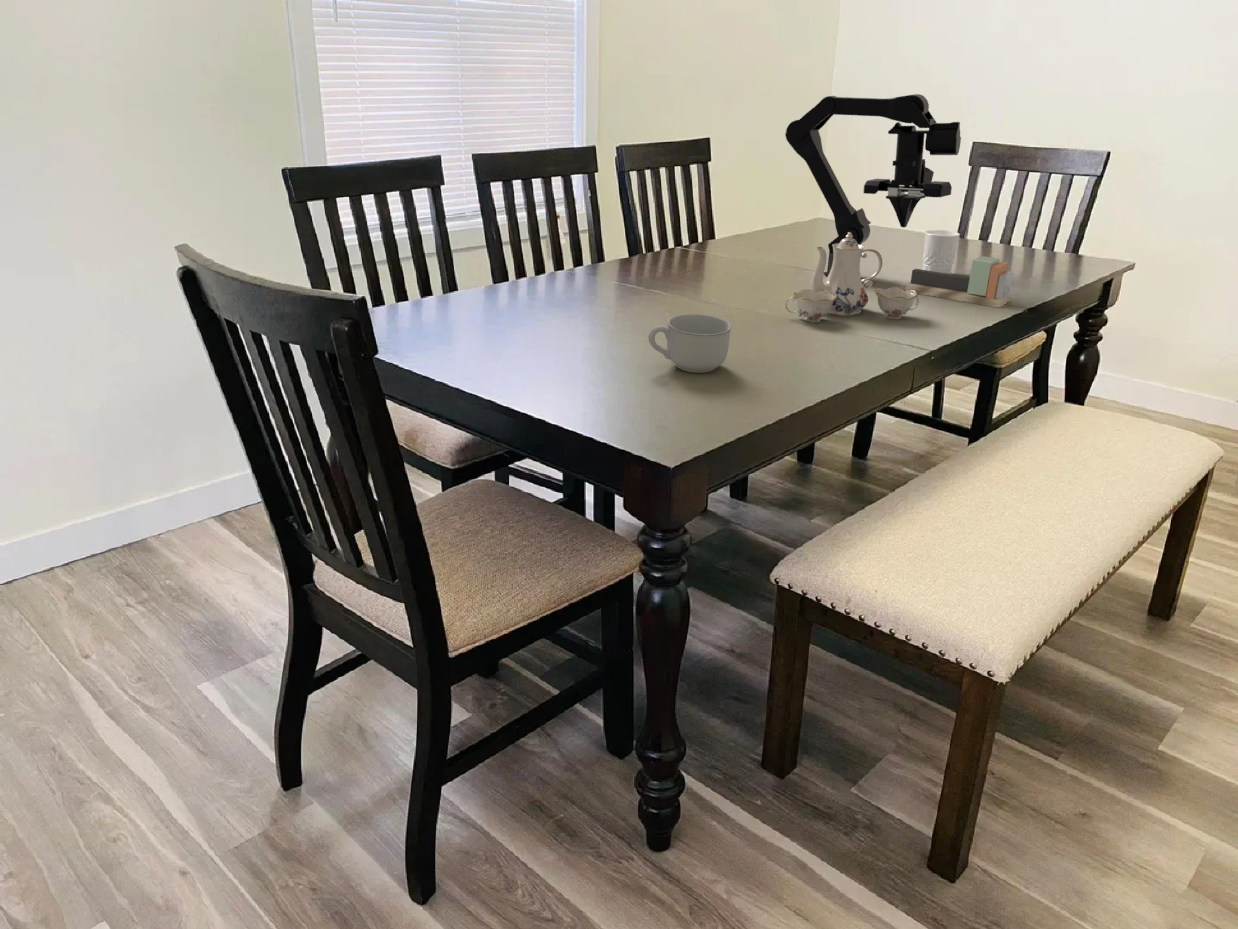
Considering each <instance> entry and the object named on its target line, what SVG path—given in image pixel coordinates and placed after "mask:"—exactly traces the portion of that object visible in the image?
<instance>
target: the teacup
mask: <svg viewBox="0 0 1238 929" xmlns="http://www.w3.org/2000/svg"><path fill="white" fill-rule="evenodd" d="M731 330H732V324H731V322H729V321H727V320H726V319H724V318H722V317H718V316H714V315H710V314H705V313H704V314H703V313H702V314H701V313H686V314H683V313H682V314H678V315H674V316H671V317H670V318H669V319H668V320H667V327H666V326H665V325H661V324H659V325H656V326H653V327H652V328H651V329H650V331H649V333H648V342H649V344H650V346H651V347H652V348H653V349H654V350H655V351H656V352H659V353H660V354H662V355H663V356H664V358H665V359H667V360H670V361H671V362H672V363H673V364H674V365H675V367H677V368H678V369H680V370H682V371H684V372H689V373H695V374H704V373H710V372H712V371H714V370H715V369H717V368H718V367H719V366H721V365H722V364H723V363H724V362H725V361H726V360H727V356H728V352H729V347H730V338H731V337H730V335H731ZM658 333H663V334H664V336H665V339H666V348H665V347H663V346H660V345H659V344H658V343H657V342H656V340H655V339H656V338H655V337H656V335H657V334H658Z"/></svg>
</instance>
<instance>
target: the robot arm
mask: <svg viewBox="0 0 1238 929" xmlns="http://www.w3.org/2000/svg"><path fill="white" fill-rule="evenodd" d="M929 108H930V104H929V101H928V100H927V98H926V96H925V95H923V94H919V93H915V94H909V95H902V96H896V97H888V98H878V97H877V98H875V97H874V98H871V97H848V96H845V97H843V96H835V95H829V96H824V97H822V99H821V100H820V101H819V102H818V103H817V104H816V105H815V106H813V107H812V108H811V109H810V110H809V111H807V112H806V113H805V114H804V115H803V116H801V118H799V119H795V120H794V121H791V122H790V123H789V124H788V125H787V127H786V128H785V129H786V130H785V133H784V135H785V140H786V141H787V143H788V144H789V146H790V147H791V148H792V149H793V151H794V152H795V153H796V154H797V155H798V156H800V157H801V159H803V160H804V161H805V163H806V165H807V166H808V169H809V171H810V172H811V174H812V175H813V176H812V177H813V178H814V180H815V181H816V184H817V186H818V188H819V189H820V191H821V193H822V195H823V196H824V199H825V201H826V203H827V204H828V207H829V208H830V210H831V213H832V214H833V218H834V224H835V230H836V233H837V237H836V238H834V239H833V240H832V241H830V243H828V245H827V247H828V250H829V251H828V260H827V268H826V269H827V270H826V271H824V275H823V276H826V277H828V275H829V273H830V270H831V268H832V264H833V256H834V253H833V246H832V245H833V244H836V243H837V244H838V243H840V241H841V240H842V239H844V238H846V235H848V233H849V232H851V234H852V236H853V237H852V239H855V240H856V241H857V243H858V244H859V245H862V244H864V243H865V242H866V241H867V240H868V239H869V238H870V234H871V228H870V225H871V223H872V221H870V220H869V219H868V218H867V216H866V213H865V210H864V209H863V208H860V209H858V210H856V208H854V207H853V205H852V204H851V202H850V201H849V199H848V197H847V195H846V193H845V191H844V190H843V188H842V186H841V183H840V182H839V180H838V177H837V176H836V174H835V172H834V170H833V168H832V166H831V165H830V162H829V160H828V158H827V157H826V155H825V153H824V150H823V145H822V143H823V142H822V137H821V134H820V130H821V129H822V128H823V127H824V126H825V125H826V124H827V122H828V121H829V120H830V119H831V118H832V117H833V116H834V115H835V116H836V115H837V116H839V115H840V116H857V117H859V116H861V117H881V118H885V119H889V120H892V121H896V122H895V124H894V125H893V127H892V128H890V129H889V130H888V132H887V133H888V134H889V135H897V137H896V147H895V149H896V151H895V160H892V164H891V165H892V166H893V167H894V178H893V179H890V178H874V179H868V180H866V181H865V183H864V185H863V191H862V192H863V194H867V195H870V194H871V195H875V194H877V193H878V192H887V195H886V196H885V199H886V200H889V201H890V203H891V206H892V207H893V210H894V212H895V215H896V218H897V220H898V223H899V225H900V228H906V227H907V226H908V223H909V221H910V219H911V217H912V214H913V213H914V210H915V208H916V207H917V204H918V203H919V202H920V201H921V200H922V199H925V198H943V197H947V196H951V195H952V190H953V189H952V188H953V187H952V185H951V183H950V181H942V180H941V181H939V180H936V181H935V180H934V181H933V177H934V174H935V173H934V170H932V169H930V168H928V167H927V166H926V159H925V158H923V156H924V149H925V151H926V152H929V155H930V156H958V155H959V153H960V149H961V148H960V147H961V142H962V141H961V140H962V137H961V128H960V127H961V122H960V121H953V122H937V121H936V120H935V118H934V116H933V115H932V112H930V111H929ZM901 123H905V124H914V125H902V124H901ZM916 127H918V128H919V130H917V128H916ZM920 129H925V130H920ZM927 129H928V130H927ZM924 147H925V148H924Z"/></svg>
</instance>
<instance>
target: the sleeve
mask: <svg viewBox="0 0 1238 929" xmlns="http://www.w3.org/2000/svg"><path fill="white" fill-rule="evenodd" d="M1000 260H1001V258H999V257H998V258H996V257H990V256H983V255H981V256H979V257H977V258H975V259H973V260H972V263H971V269H970V274H969V277H970V279H969V285H968V291H967V293H969V294H975V295H982V296H986V295H987V289H988V284H989V278H990V273H991V267H992V266H994V265H996V264H998V263H1000V262H1001V261H1000Z"/></svg>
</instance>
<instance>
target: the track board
mask: <svg viewBox="0 0 1238 929" xmlns="http://www.w3.org/2000/svg"><path fill="white" fill-rule="evenodd" d="M908 290H914V291H916V292H917V295H921V296H922V295H923V296H927V295H930V296H929V297H933V296H936V297H935V298H939V297H941V299H945V300H946V299H947V300H952V301H956V302H957V301H958V302H963V301H965V302H964V303H968V302H970V303H969V304H974V303H975V305H981V306H986V307H993V308H998V307H1000V308H1001V307H1002V306H1005V305H1007V304H1008V303H1009V302H1010V300H1011V294H1009V296H1007V297H1006V298H1004V299H1002V300H1000V299H988V298H986V296H982V295H975V294H969V293H967V292H961V291H955V290H948V289H942V288H936V287H930V286H924V285H918V284H912V283H911V282H910V283H909V284H908V283H907V284H906V285H905V290H904V292H905V291H908ZM1007 302H1008V303H1007ZM1004 304H1005V305H1004Z"/></svg>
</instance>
